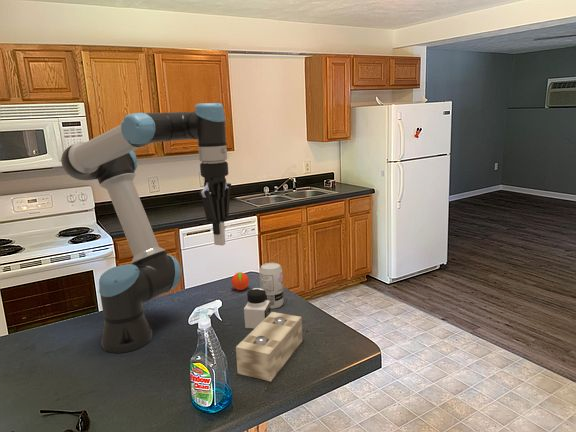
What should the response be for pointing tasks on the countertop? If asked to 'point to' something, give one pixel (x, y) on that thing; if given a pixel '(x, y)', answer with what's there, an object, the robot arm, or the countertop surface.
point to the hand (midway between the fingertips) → (219, 244)
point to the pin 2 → (280, 320)
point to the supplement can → (272, 283)
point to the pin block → (269, 347)
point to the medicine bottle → (256, 308)
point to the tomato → (240, 281)
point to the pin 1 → (261, 340)
